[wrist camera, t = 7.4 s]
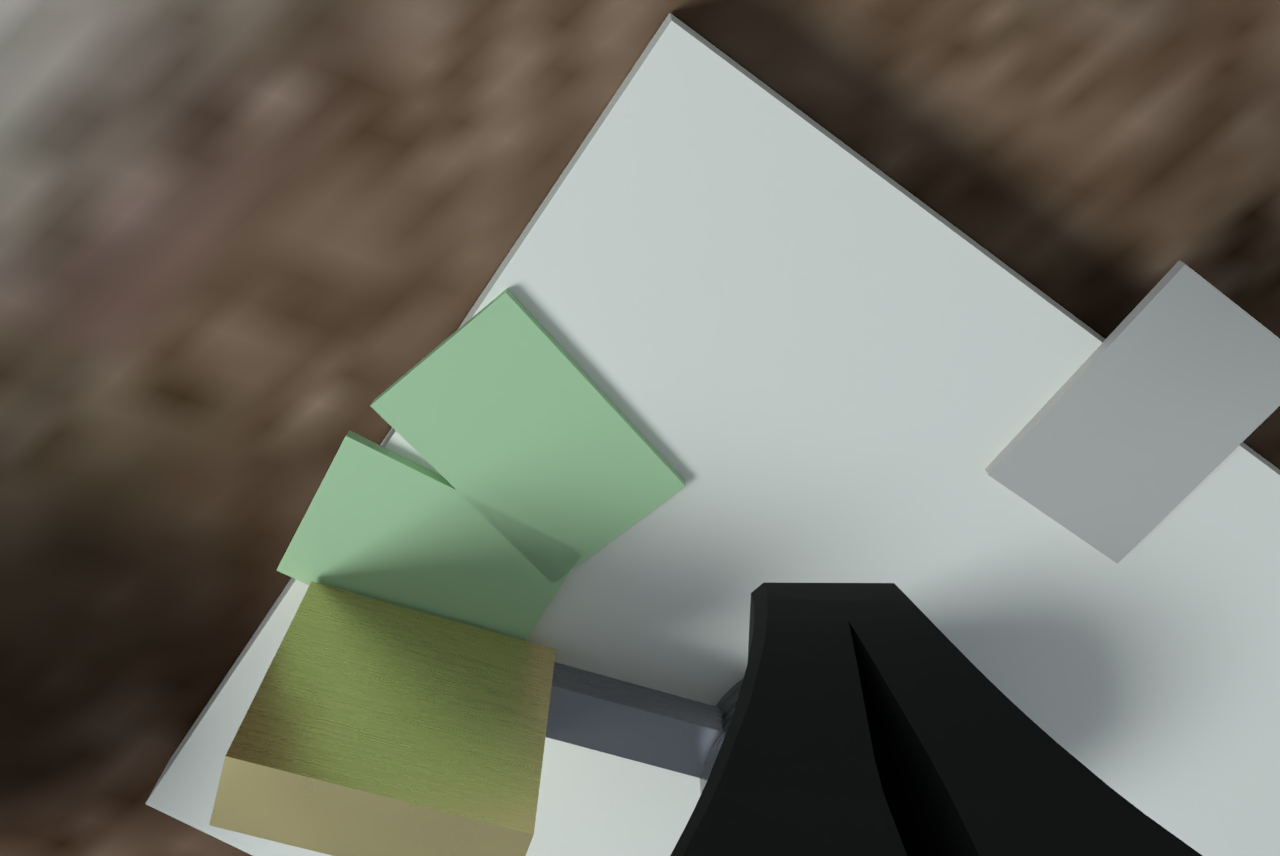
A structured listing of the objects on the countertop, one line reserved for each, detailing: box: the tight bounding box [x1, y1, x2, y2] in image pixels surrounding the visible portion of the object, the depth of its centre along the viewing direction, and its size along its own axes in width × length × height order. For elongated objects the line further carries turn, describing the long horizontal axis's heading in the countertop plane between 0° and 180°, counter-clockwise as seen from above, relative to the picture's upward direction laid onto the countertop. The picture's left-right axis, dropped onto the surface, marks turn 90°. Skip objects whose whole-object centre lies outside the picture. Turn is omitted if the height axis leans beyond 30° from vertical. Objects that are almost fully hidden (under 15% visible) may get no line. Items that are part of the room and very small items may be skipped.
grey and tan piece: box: [209, 581, 743, 856], centre depth 17 cm, size 11×4×4 cm, turn 71°
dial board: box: [145, 13, 1280, 856], centre depth 19 cm, size 19×18×1 cm
